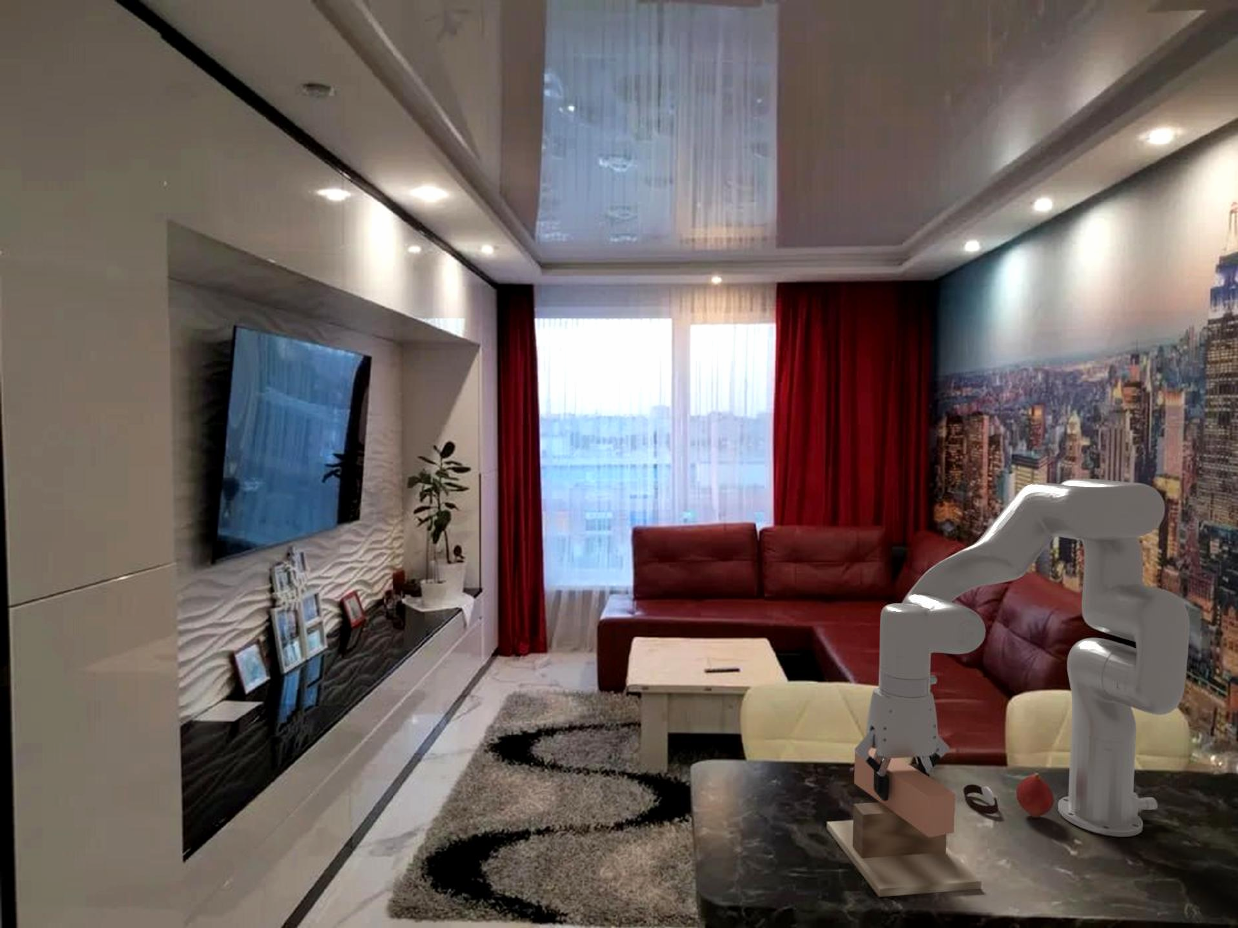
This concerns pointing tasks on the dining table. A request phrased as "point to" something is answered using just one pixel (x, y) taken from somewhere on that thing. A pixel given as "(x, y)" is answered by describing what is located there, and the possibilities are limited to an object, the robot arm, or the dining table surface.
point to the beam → (911, 795)
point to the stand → (899, 854)
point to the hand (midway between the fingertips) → (900, 794)
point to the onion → (1034, 796)
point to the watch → (987, 795)
